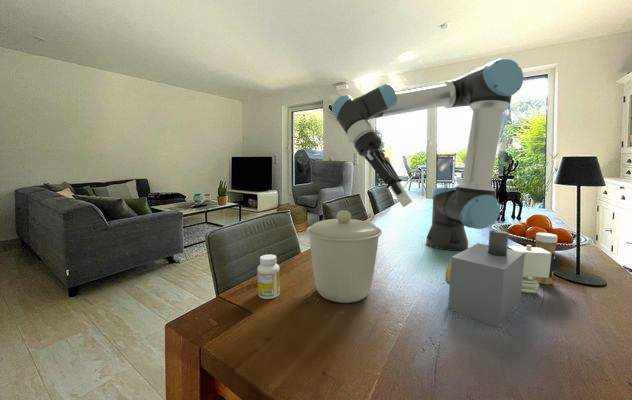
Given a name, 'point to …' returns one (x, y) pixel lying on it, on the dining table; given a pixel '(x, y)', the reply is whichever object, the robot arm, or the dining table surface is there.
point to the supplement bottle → (268, 277)
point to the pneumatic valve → (536, 266)
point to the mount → (486, 283)
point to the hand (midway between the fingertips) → (407, 203)
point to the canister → (343, 257)
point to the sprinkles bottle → (549, 244)
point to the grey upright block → (498, 243)
